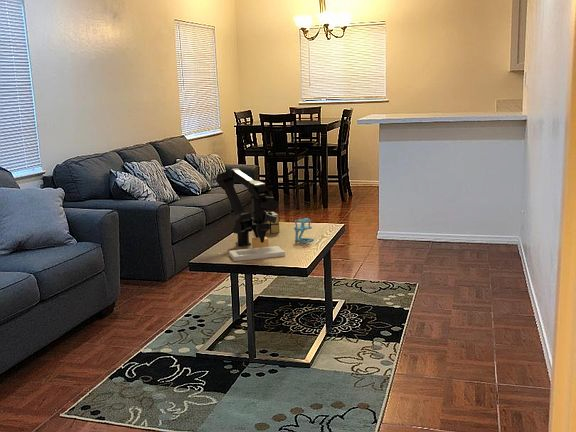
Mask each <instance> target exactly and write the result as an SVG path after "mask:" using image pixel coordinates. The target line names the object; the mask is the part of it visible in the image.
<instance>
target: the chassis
mask: <svg viewBox="0 0 576 432" xmlns="http://www.w3.org/2000/svg"><path fill="white" fill-rule="evenodd" d="M228 255H229V256H230V258H231V259H232V260H233V261H234V262H237V261H245V260H246V261H249V260H258V259H259V260H260V259H268V258H277V257H278V258H279V257H285V256H286V251H285V250H284V249H282V248H281V247H280V246H278V245H274V246H269V247H262V248H252V247H251V248H243V249H235V250H234V249H233V250H228Z"/></svg>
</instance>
